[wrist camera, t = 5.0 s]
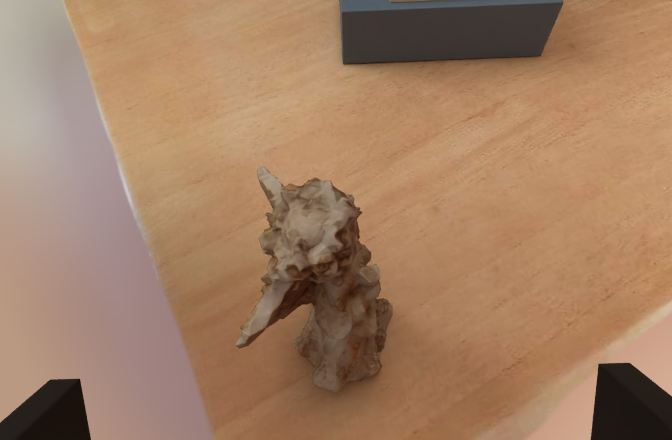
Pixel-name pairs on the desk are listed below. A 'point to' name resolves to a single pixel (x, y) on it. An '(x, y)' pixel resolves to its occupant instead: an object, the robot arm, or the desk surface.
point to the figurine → (321, 281)
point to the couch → (444, 29)
